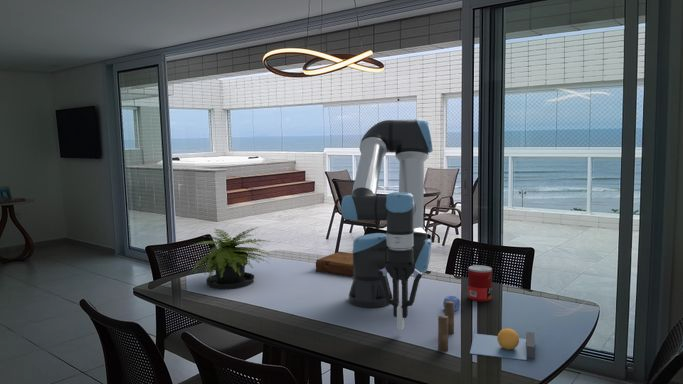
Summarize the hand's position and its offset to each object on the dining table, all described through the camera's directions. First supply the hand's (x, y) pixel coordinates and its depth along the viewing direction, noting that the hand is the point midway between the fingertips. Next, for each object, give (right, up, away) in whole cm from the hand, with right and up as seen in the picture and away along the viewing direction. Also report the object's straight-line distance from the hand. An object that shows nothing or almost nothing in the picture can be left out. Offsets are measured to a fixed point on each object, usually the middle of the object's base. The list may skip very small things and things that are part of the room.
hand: (400, 327), depth 148 cm
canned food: (+31, +2, +32) cm, 45 cm away
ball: (+27, 0, -11) cm, 29 cm away
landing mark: (+25, -3, -9) cm, 27 cm away
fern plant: (-61, +3, +58) cm, 85 cm away
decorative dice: (+19, 0, +22) cm, 29 cm away
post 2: (+14, -2, +2) cm, 15 cm away
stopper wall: (+33, -3, -11) cm, 35 cm away
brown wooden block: (-13, +5, +74) cm, 76 cm away
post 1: (+10, -3, -10) cm, 15 cm away
